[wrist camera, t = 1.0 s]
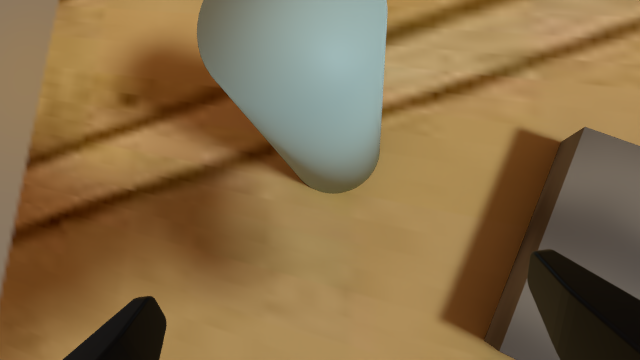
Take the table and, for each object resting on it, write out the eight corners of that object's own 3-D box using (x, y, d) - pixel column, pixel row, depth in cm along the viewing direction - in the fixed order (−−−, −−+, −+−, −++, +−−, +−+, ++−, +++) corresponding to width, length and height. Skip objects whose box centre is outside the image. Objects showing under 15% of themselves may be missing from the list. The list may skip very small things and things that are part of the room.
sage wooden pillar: (324, 211, 23) (264, 148, 10) (273, 142, 24) (164, 11, 12) (398, 155, 23) (429, 24, 10) (342, 90, 24) (309, -96, 12)
